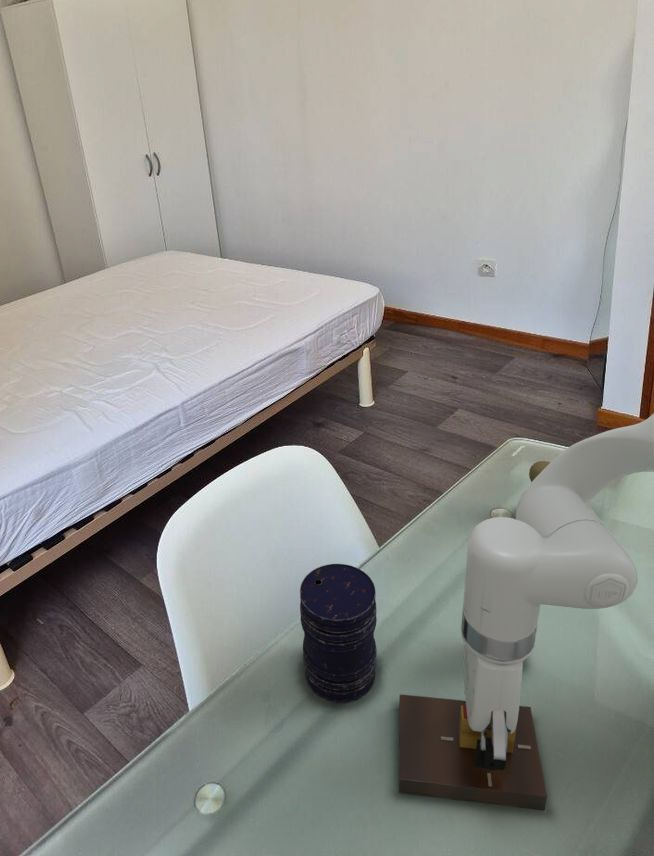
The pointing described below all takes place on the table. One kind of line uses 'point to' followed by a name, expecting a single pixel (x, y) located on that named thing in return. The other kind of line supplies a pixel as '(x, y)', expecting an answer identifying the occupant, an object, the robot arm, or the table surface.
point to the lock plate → (464, 758)
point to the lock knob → (476, 733)
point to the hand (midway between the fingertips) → (486, 735)
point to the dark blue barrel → (338, 632)
